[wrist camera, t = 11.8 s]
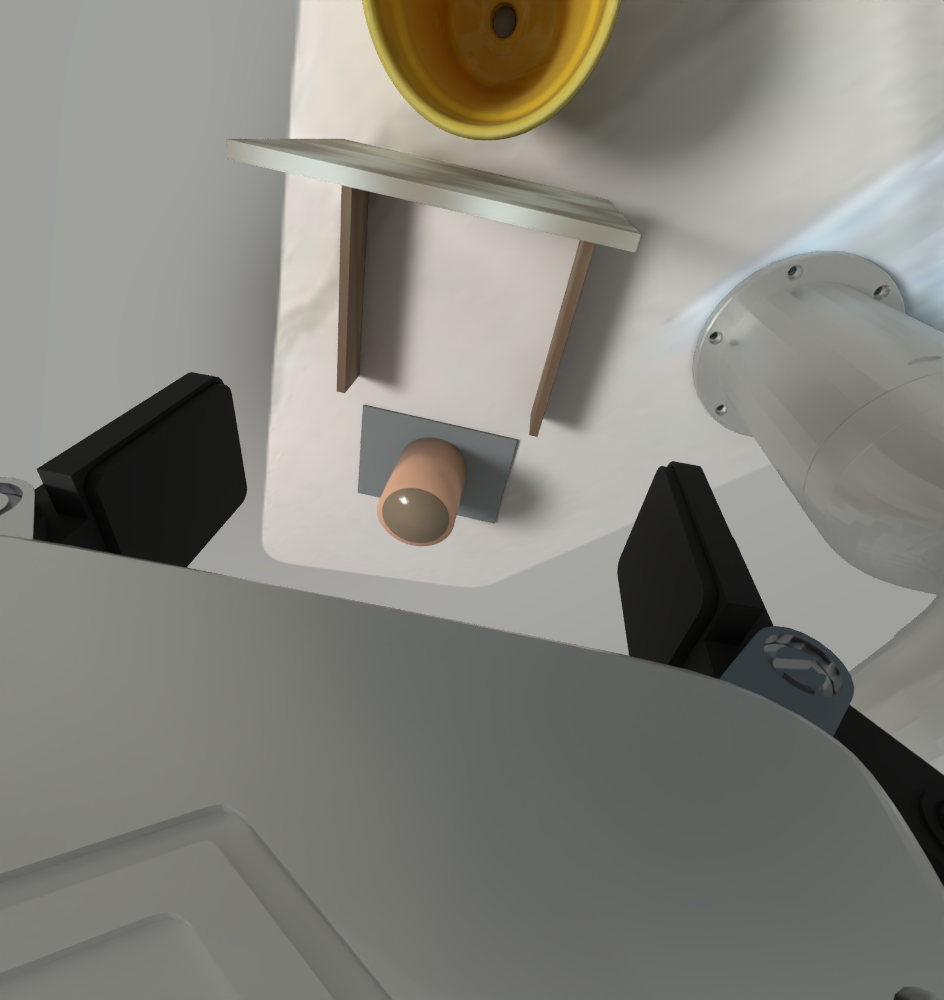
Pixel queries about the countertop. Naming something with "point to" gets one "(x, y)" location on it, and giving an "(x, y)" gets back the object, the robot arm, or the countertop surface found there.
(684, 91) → the countertop surface
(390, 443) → the potting mat
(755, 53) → the countertop surface
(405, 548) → the countertop surface
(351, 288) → the wooden bench
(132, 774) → the robot arm
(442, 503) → the flowerpot
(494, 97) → the plant pot
